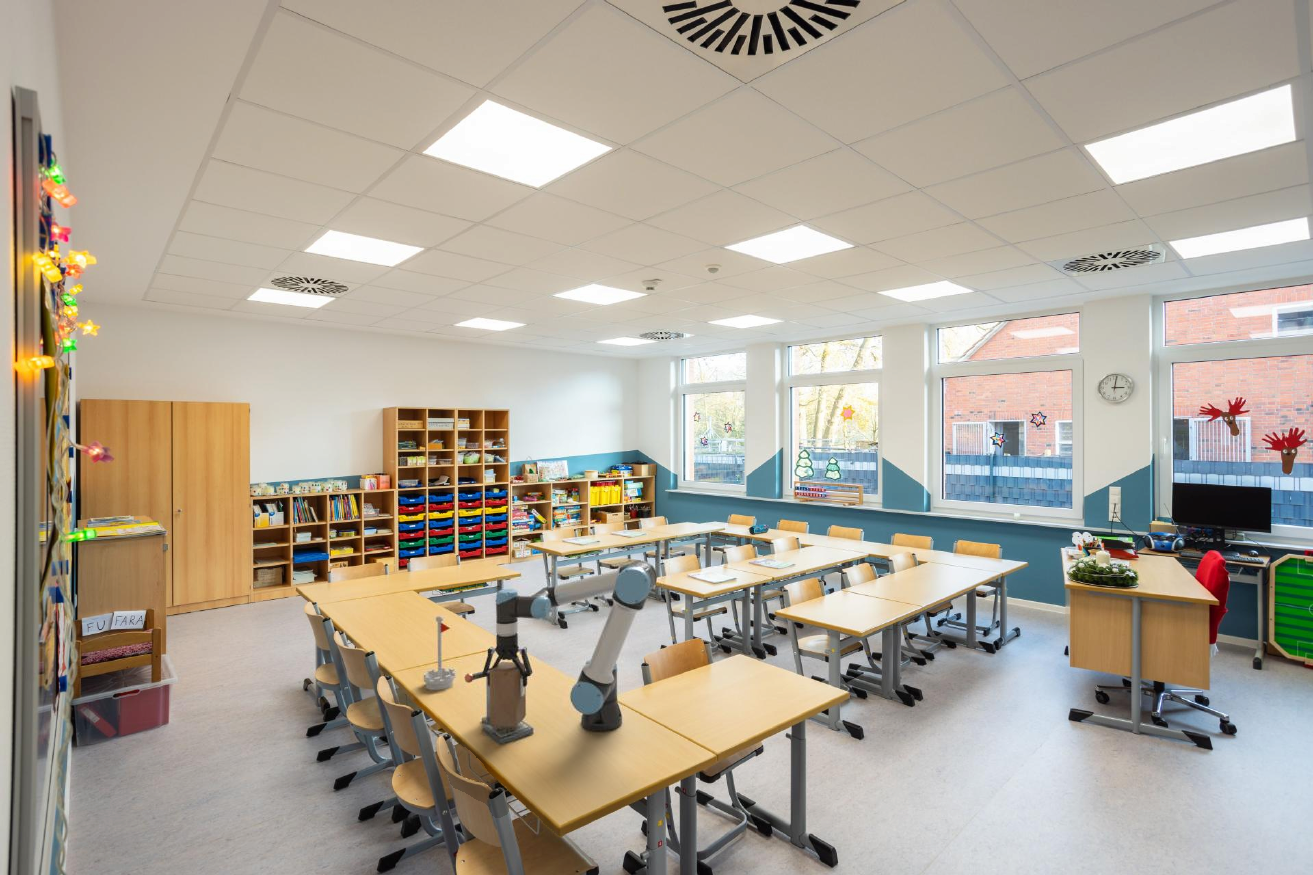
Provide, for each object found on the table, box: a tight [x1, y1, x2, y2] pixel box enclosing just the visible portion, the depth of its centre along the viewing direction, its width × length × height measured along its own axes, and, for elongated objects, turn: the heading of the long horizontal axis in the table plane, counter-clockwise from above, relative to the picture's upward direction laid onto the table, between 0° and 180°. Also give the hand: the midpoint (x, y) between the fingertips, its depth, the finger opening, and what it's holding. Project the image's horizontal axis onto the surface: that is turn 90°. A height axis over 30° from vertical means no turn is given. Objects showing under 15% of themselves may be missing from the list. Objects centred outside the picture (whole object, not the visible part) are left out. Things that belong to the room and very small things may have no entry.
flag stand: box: [423, 615, 457, 691], centre depth 274 cm, size 13×13×30 cm
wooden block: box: [490, 661, 527, 728], centre depth 229 cm, size 10×10×20 cm
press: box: [481, 667, 534, 746], centre depth 232 cm, size 22×13×20 cm, turn 40°
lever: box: [464, 670, 490, 684], centre depth 237 cm, size 3×20×6 cm, turn 130°
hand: (507, 694), depth 229 cm, fingers closed on wooden block, 10 cm apart
